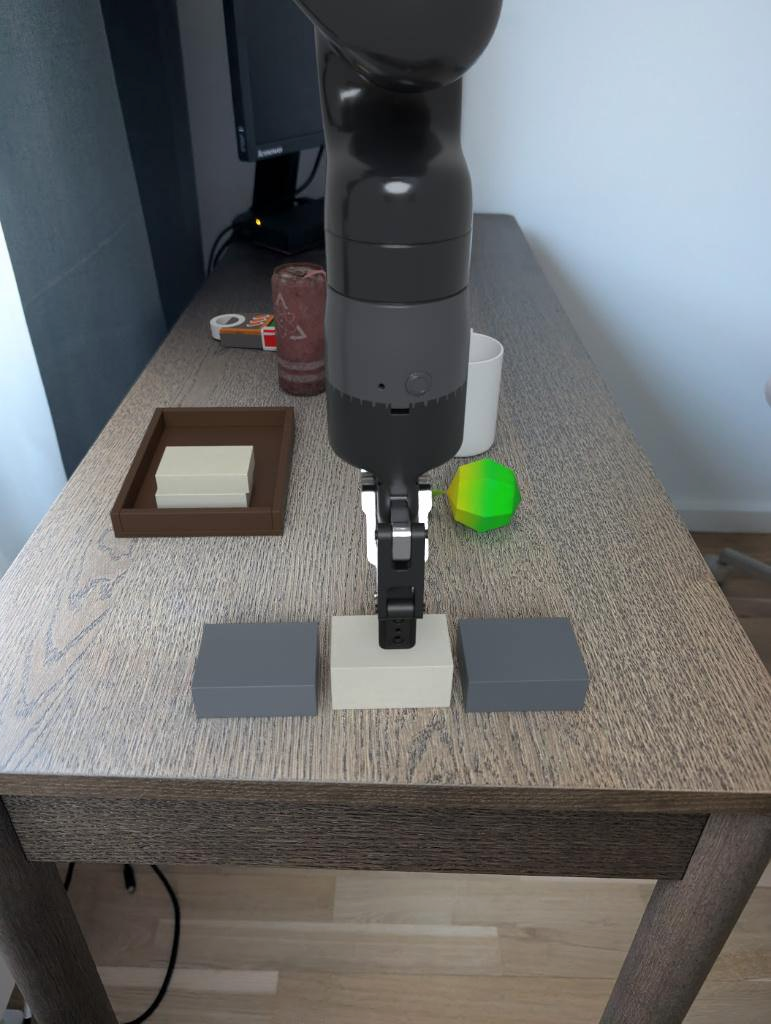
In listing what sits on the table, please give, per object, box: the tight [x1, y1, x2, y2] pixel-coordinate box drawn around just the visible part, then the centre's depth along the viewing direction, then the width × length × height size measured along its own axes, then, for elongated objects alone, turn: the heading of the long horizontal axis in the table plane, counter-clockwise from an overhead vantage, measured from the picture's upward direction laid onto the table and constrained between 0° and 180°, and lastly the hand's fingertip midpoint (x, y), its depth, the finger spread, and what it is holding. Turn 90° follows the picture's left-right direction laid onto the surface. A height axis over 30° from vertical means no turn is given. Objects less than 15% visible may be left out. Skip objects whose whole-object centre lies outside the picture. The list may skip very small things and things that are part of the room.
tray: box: [109, 405, 296, 539], centre depth 75 cm, size 15×20×3 cm
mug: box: [453, 327, 505, 458], centre depth 81 cm, size 12×8×10 cm, turn 172°
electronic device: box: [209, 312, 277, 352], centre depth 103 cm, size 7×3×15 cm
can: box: [270, 262, 327, 397], centre depth 88 cm, size 6×6×14 cm
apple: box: [431, 457, 523, 534], centre depth 69 cm, size 7×6×9 cm
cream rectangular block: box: [329, 613, 454, 711], centre depth 53 cm, size 8×5×4 cm, turn 92°
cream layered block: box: [155, 446, 255, 508], centre depth 71 cm, size 8×5×4 cm, turn 92°
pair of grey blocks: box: [190, 616, 591, 719], centre depth 54 cm, size 26×6×3 cm, turn 92°
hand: (393, 598), depth 50 cm, fingers open, 8 cm apart
